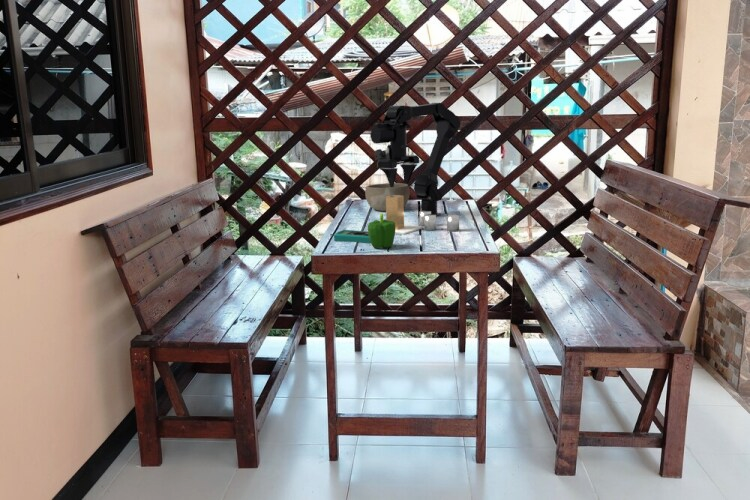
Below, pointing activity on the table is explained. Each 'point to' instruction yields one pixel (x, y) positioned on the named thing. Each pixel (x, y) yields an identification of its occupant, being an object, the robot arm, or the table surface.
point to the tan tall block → (395, 210)
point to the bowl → (385, 194)
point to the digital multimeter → (352, 236)
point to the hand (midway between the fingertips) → (399, 185)
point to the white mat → (408, 229)
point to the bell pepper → (381, 233)
